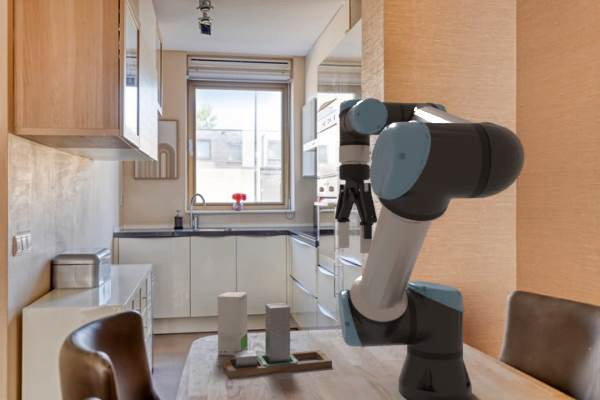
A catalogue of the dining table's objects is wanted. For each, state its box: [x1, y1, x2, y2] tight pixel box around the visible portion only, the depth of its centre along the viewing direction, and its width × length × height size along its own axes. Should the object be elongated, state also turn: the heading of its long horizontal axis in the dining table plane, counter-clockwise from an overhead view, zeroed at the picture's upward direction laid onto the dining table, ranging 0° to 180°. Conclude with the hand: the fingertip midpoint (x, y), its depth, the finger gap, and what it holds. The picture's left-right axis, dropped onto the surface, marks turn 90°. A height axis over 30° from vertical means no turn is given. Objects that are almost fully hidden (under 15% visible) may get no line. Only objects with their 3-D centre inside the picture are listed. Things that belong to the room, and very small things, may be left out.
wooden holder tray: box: [222, 349, 333, 379], centre depth 124 cm, size 9×25×2 cm, turn 107°
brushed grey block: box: [264, 302, 291, 364], centre depth 124 cm, size 5×5×15 cm
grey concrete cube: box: [233, 349, 258, 369], centre depth 121 cm, size 5×5×4 cm
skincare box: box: [217, 291, 249, 357], centre depth 135 cm, size 8×7×16 cm
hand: (354, 250), depth 123 cm, fingers open, 13 cm apart
